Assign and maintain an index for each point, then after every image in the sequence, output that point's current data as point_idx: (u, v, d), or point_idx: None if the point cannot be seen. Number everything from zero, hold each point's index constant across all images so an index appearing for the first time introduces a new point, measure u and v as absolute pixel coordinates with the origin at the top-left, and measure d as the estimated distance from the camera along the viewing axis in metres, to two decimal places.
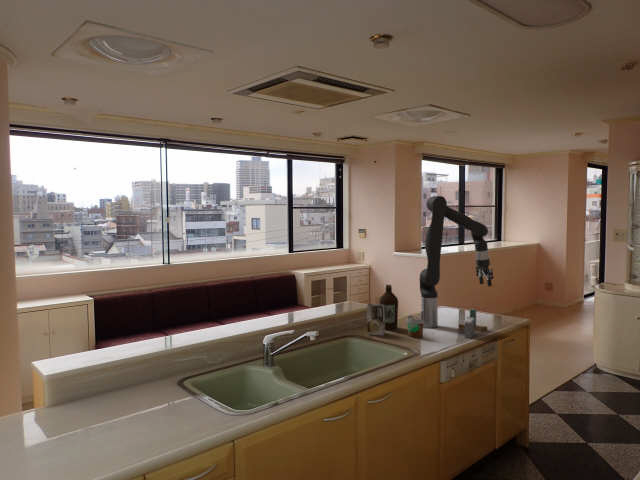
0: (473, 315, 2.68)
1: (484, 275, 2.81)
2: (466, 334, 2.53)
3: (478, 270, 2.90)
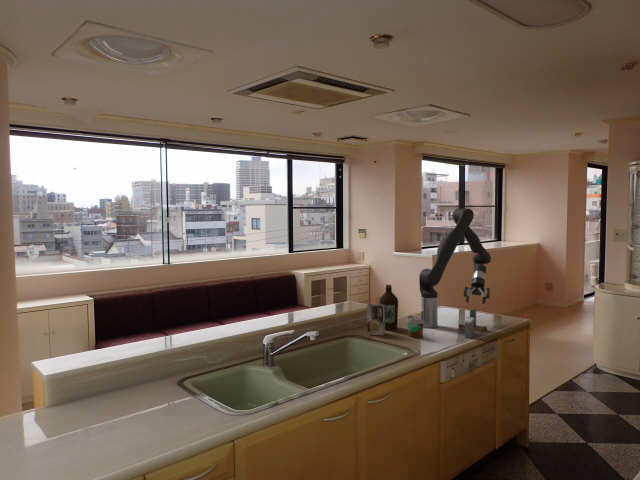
0: (473, 315, 2.68)
1: (481, 292, 2.78)
2: (466, 334, 2.53)
3: (467, 290, 2.83)
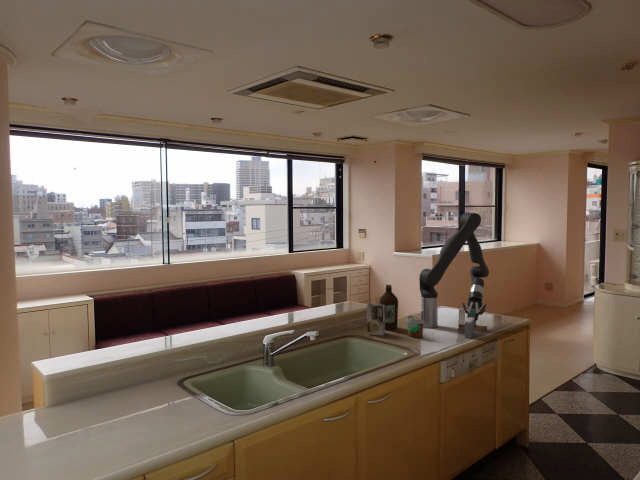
0: (473, 315, 2.68)
1: (476, 307, 2.70)
2: (466, 334, 2.53)
3: (465, 306, 2.75)
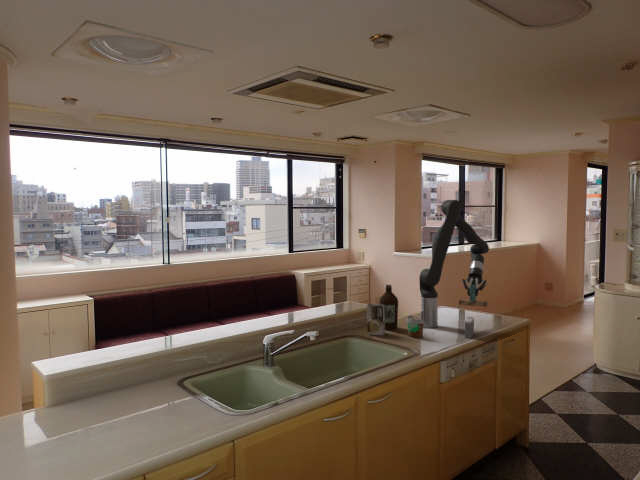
0: (473, 290, 2.67)
1: (476, 283, 2.69)
2: (466, 334, 2.53)
3: (465, 282, 2.74)
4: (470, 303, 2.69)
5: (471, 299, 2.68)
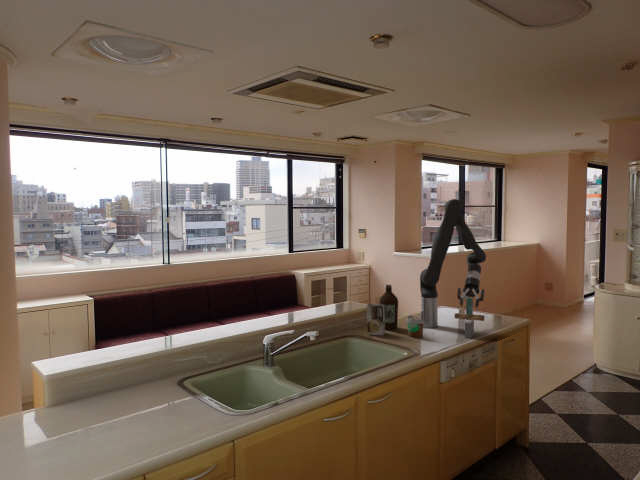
0: (469, 303, 2.55)
1: (474, 294, 2.57)
2: (466, 334, 2.53)
3: (460, 292, 2.62)
4: (466, 316, 2.56)
5: (467, 313, 2.56)
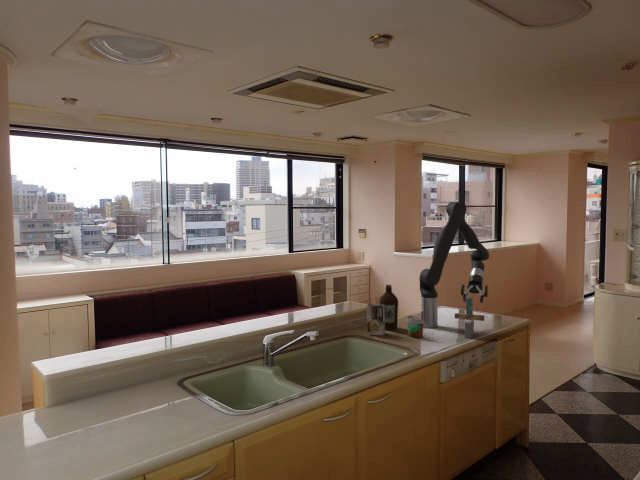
0: (469, 303, 2.55)
1: (478, 290, 2.66)
2: (466, 334, 2.53)
3: (464, 288, 2.72)
4: (466, 316, 2.56)
5: (467, 313, 2.56)
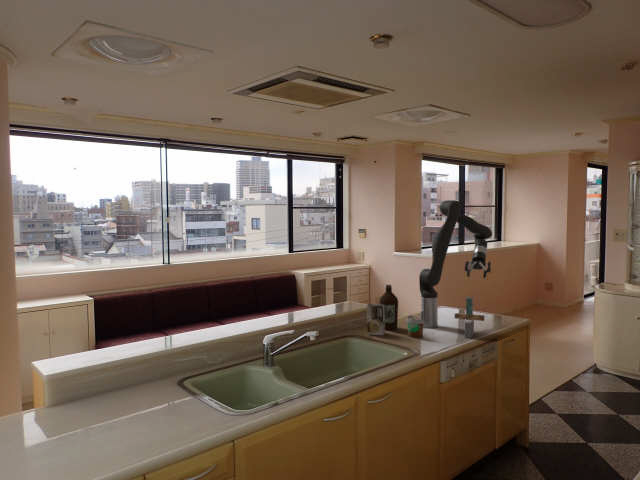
0: (469, 303, 2.55)
1: (482, 266, 2.77)
2: (466, 334, 2.53)
3: (468, 264, 2.83)
4: (466, 316, 2.56)
5: (467, 313, 2.56)
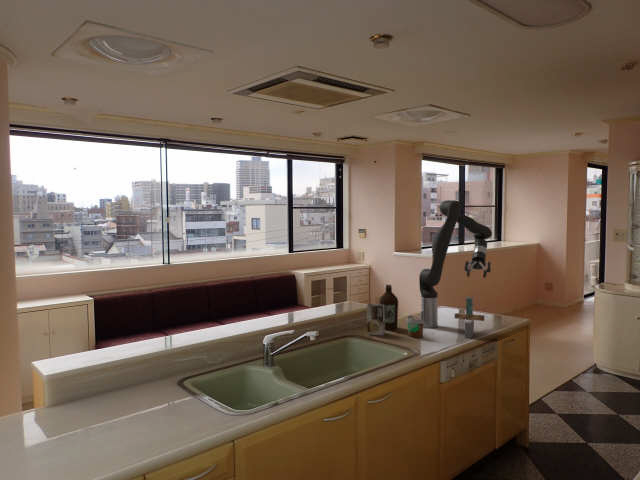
0: (469, 303, 2.55)
1: (482, 266, 2.77)
2: (466, 334, 2.53)
3: (468, 264, 2.83)
4: (466, 316, 2.56)
5: (467, 313, 2.56)
